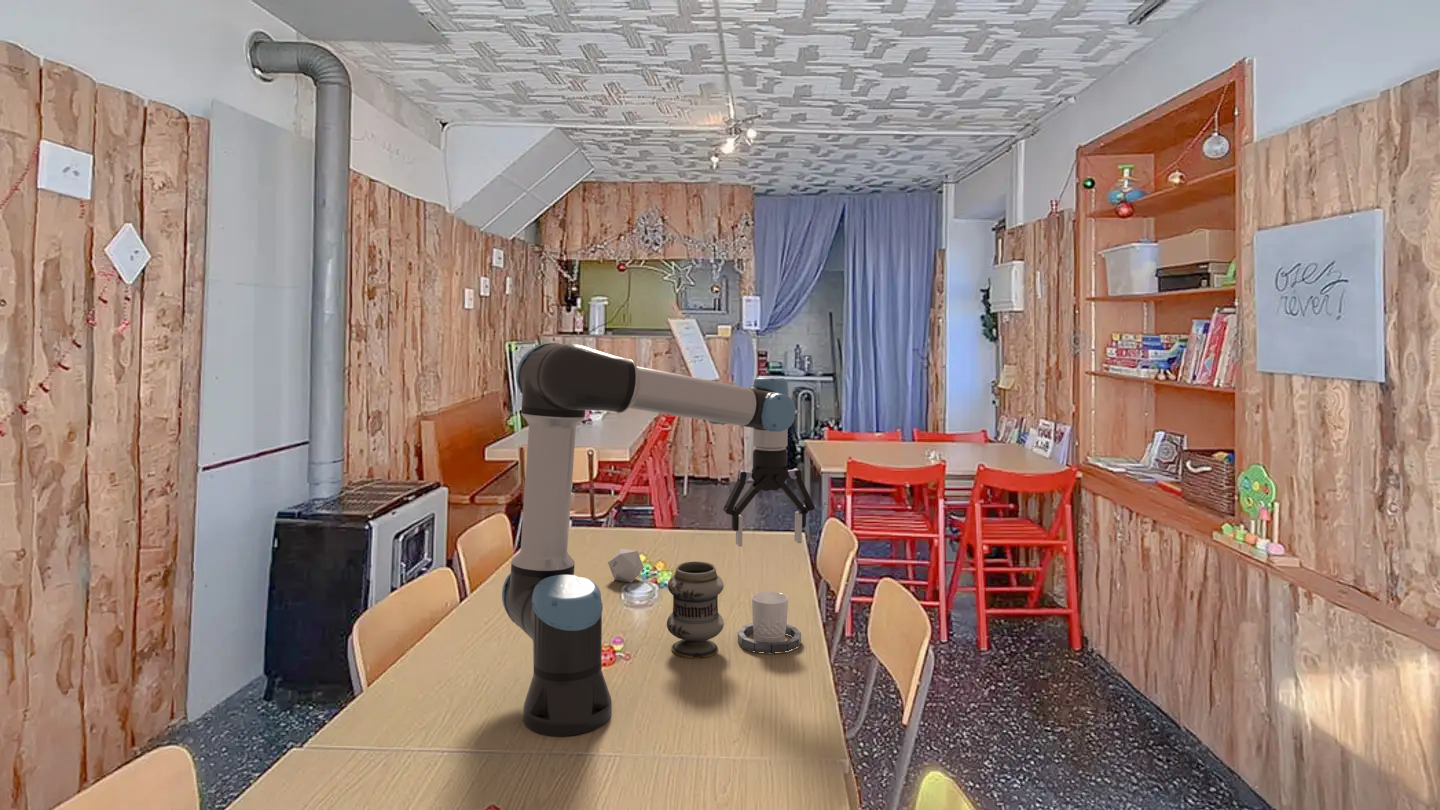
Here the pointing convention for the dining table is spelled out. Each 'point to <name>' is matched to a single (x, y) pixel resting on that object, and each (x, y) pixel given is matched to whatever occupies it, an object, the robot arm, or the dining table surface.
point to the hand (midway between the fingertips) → (768, 543)
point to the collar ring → (767, 646)
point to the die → (625, 565)
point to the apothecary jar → (695, 609)
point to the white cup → (769, 616)
